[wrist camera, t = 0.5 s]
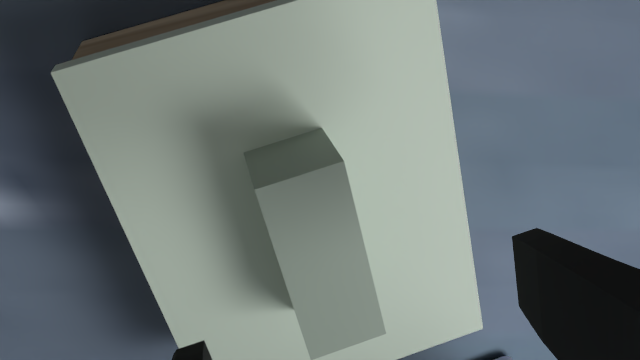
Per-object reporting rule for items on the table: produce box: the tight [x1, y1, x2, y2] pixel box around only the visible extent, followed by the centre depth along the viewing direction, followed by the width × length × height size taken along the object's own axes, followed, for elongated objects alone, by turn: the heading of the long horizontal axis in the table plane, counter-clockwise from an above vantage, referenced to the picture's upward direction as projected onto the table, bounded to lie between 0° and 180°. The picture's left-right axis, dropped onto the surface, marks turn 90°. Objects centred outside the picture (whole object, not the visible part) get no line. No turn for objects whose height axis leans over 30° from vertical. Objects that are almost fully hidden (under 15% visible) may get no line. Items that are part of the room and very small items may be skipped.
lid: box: [51, 0, 483, 360], centre depth 19 cm, size 13×10×4 cm
